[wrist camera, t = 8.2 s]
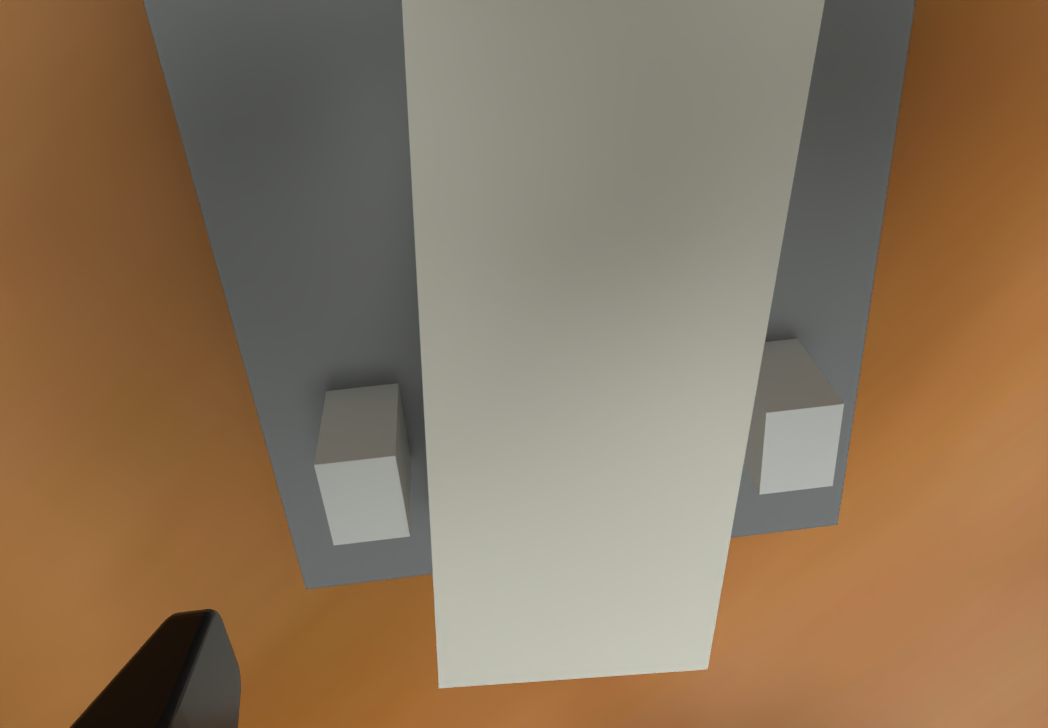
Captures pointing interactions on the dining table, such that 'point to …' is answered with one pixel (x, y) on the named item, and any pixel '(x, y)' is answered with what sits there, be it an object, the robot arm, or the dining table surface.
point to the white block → (593, 313)
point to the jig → (391, 280)
